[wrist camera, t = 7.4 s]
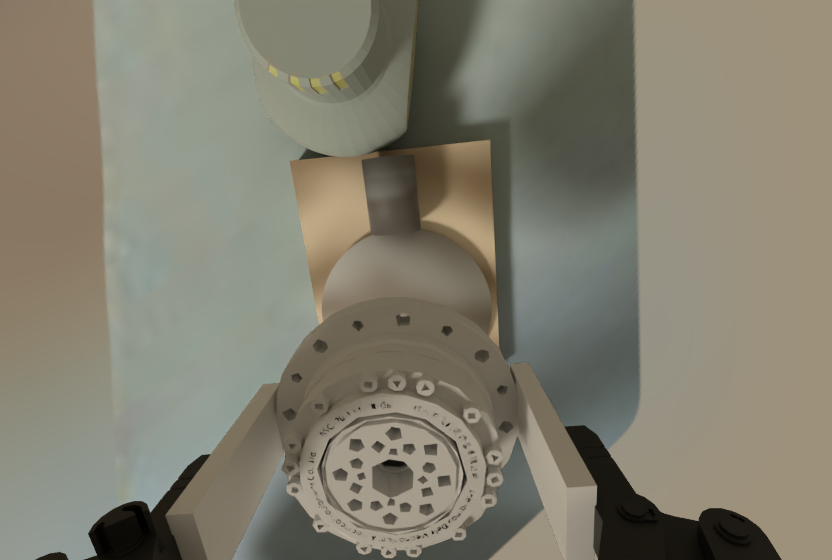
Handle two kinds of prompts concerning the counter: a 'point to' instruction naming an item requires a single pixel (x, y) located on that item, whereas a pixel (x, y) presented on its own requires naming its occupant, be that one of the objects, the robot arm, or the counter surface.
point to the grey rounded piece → (333, 69)
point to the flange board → (437, 206)
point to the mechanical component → (396, 424)
